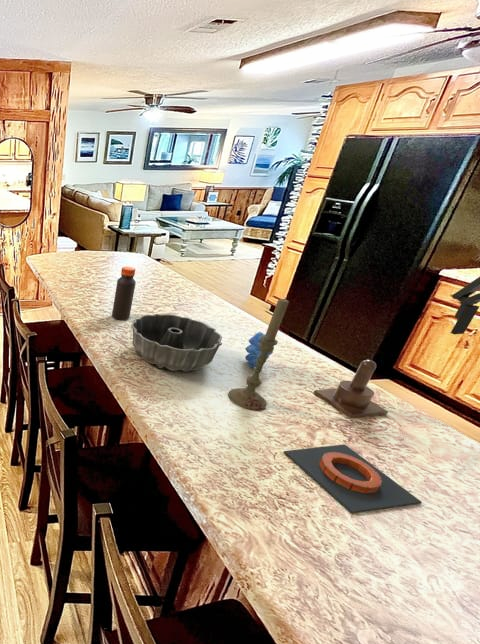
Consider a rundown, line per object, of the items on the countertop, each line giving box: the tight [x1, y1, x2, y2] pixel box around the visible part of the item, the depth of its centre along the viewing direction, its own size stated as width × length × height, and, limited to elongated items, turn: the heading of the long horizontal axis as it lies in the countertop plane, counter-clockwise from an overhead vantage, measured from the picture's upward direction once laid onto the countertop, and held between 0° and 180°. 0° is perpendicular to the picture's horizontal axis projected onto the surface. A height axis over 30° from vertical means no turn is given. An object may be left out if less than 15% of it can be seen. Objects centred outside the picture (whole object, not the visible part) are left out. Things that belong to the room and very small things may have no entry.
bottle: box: [111, 266, 136, 321], centre depth 149 cm, size 7×7×20 cm
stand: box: [313, 359, 389, 419], centre depth 102 cm, size 11×11×14 cm
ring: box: [319, 452, 382, 493], centre depth 81 cm, size 10×10×2 cm
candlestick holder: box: [227, 297, 290, 411], centre depth 98 cm, size 9×9×30 cm
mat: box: [283, 444, 422, 514], centre depth 81 cm, size 16×16×1 cm
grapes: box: [244, 331, 274, 369], centre depth 118 cm, size 12×7×12 cm, turn 166°
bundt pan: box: [130, 313, 223, 373], centre depth 123 cm, size 26×26×10 cm
